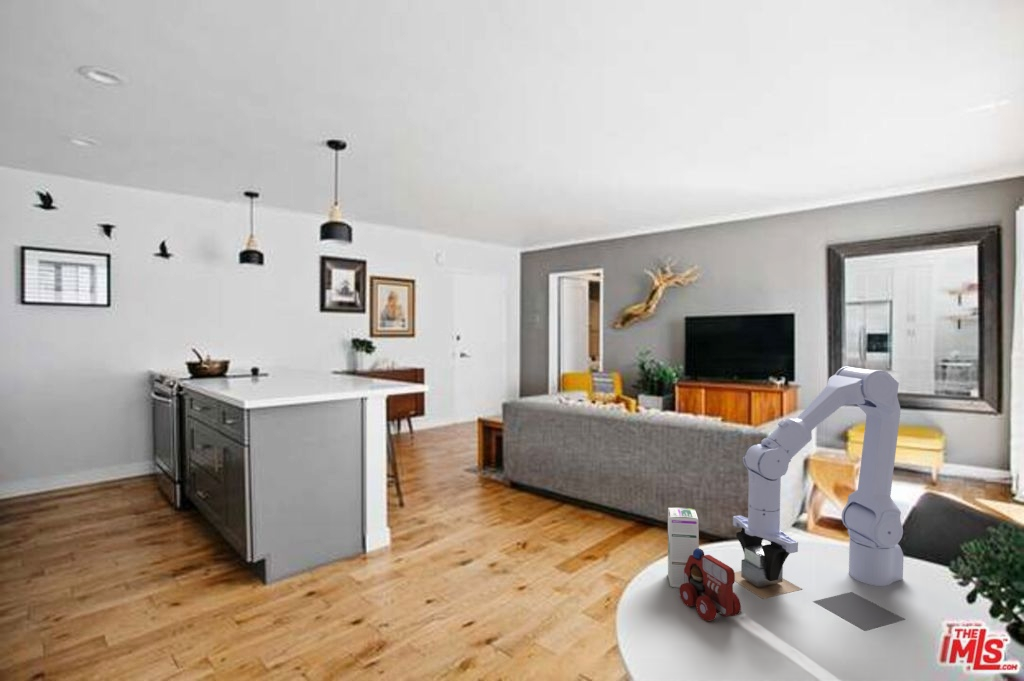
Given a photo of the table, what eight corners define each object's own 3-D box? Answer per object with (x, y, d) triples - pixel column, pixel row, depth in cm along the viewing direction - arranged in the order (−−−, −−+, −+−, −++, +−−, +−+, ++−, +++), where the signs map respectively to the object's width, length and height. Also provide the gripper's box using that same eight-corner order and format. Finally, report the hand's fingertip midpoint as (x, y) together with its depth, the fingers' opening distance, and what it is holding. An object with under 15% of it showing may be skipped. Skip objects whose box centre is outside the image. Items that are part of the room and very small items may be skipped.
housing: (764, 571, 110) (764, 543, 110) (782, 581, 106) (782, 552, 106) (741, 576, 108) (741, 547, 108) (758, 587, 104) (759, 556, 104)
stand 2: (851, 599, 103) (851, 591, 103) (905, 627, 94) (905, 619, 94) (812, 609, 100) (812, 601, 100) (864, 639, 90) (864, 630, 90)
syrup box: (699, 590, 107) (700, 518, 106) (668, 587, 108) (669, 516, 107) (695, 576, 112) (696, 508, 112) (666, 573, 114) (667, 506, 113)
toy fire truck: (702, 589, 107) (703, 538, 107) (747, 623, 95) (748, 565, 95) (672, 595, 105) (673, 543, 104) (715, 630, 93) (716, 571, 93)
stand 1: (762, 573, 114) (762, 566, 114) (802, 596, 104) (802, 589, 104) (724, 581, 110) (724, 574, 110) (762, 606, 101) (762, 598, 101)
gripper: (721, 497, 112) (720, 561, 112) (778, 522, 98) (776, 594, 99) (748, 493, 114) (747, 556, 115) (807, 517, 101) (805, 588, 101)
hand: (762, 573), depth 107 cm, fingers closed on housing, 4 cm apart
